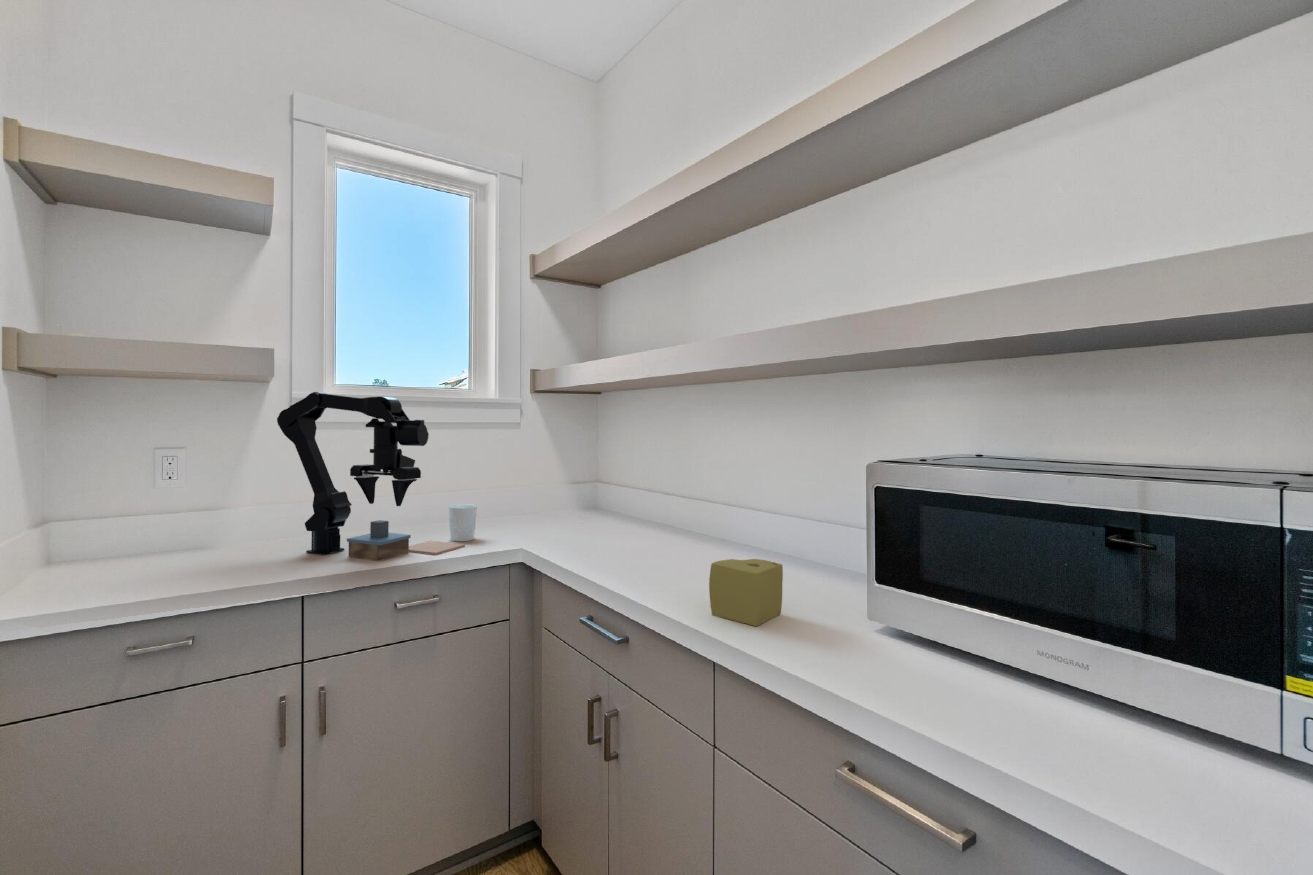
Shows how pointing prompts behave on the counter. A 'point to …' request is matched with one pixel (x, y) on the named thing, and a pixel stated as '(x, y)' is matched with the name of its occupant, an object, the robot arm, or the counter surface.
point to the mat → (434, 547)
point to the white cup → (462, 522)
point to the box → (378, 550)
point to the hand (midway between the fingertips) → (385, 504)
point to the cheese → (746, 590)
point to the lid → (378, 535)
